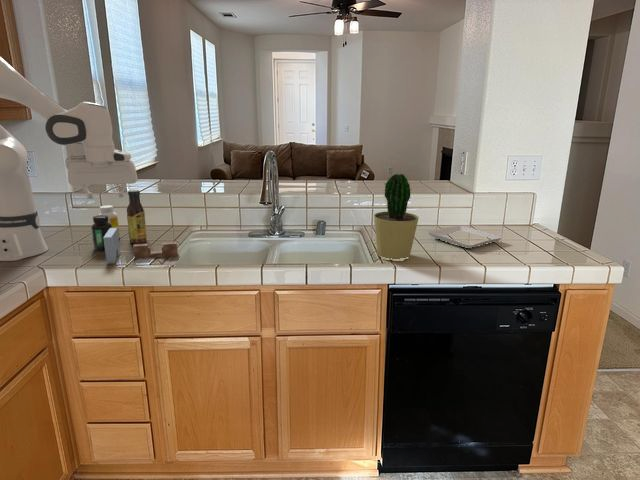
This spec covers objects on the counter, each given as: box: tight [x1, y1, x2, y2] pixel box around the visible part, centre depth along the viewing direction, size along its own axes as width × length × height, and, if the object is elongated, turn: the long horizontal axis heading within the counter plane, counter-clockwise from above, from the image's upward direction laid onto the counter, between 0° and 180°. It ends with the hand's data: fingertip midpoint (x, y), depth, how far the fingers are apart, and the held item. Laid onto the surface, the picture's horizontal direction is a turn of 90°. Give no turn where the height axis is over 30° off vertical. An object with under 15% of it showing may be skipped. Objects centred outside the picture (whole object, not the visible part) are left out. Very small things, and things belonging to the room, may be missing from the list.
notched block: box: [132, 241, 179, 260], centre depth 149 cm, size 14×2×4 cm, turn 106°
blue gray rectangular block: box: [103, 228, 121, 265], centre depth 147 cm, size 2×12×9 cm, turn 16°
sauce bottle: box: [126, 189, 148, 244], centre depth 164 cm, size 6×6×20 cm
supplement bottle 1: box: [98, 205, 121, 238], centre depth 168 cm, size 7×7×13 cm
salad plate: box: [427, 225, 503, 249], centre depth 173 cm, size 21×21×3 cm
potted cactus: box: [373, 173, 419, 259], centre depth 150 cm, size 15×15×30 cm
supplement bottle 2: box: [90, 214, 112, 252], centre depth 156 cm, size 7×7×12 cm
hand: (106, 197), depth 142 cm, fingers open, 8 cm apart
